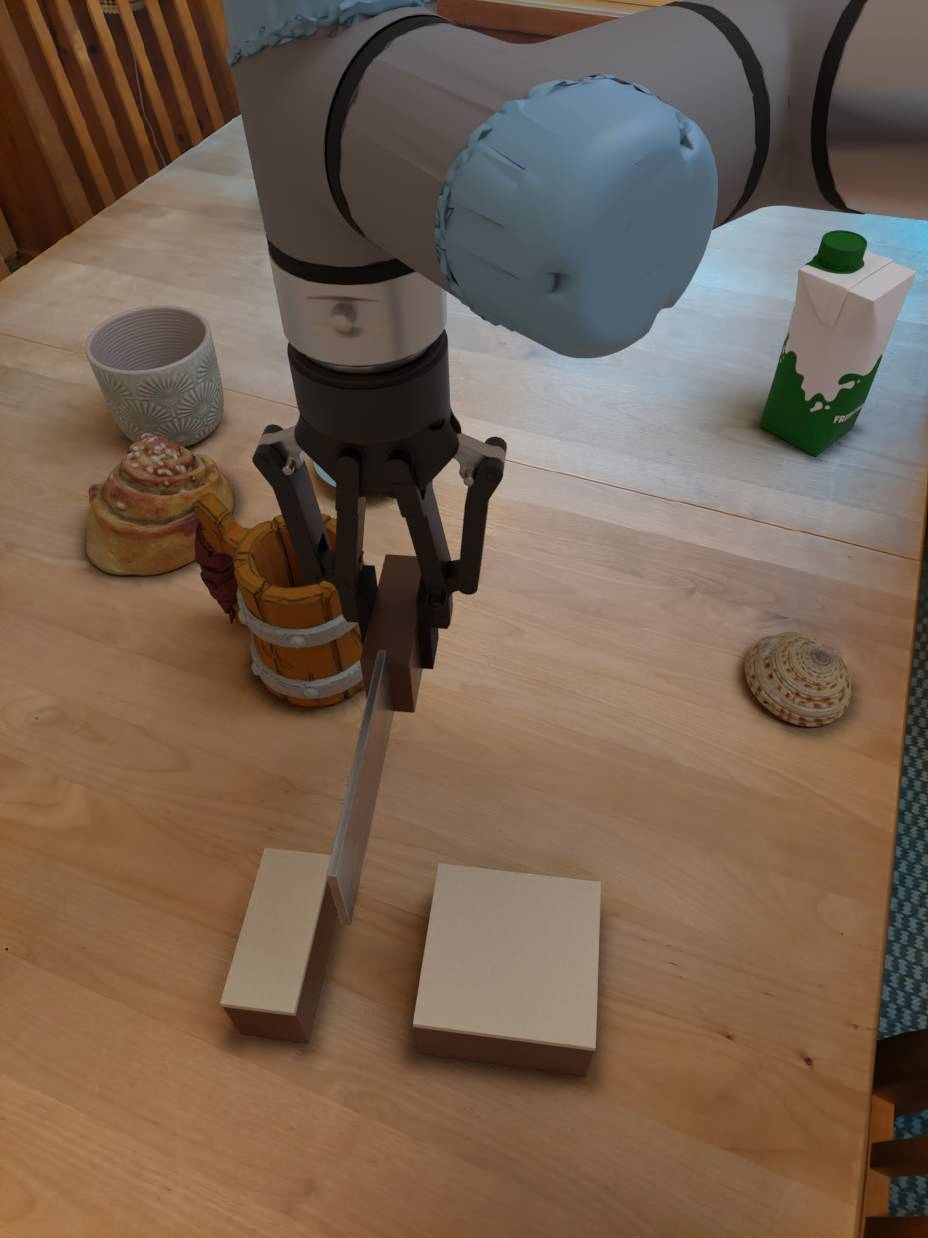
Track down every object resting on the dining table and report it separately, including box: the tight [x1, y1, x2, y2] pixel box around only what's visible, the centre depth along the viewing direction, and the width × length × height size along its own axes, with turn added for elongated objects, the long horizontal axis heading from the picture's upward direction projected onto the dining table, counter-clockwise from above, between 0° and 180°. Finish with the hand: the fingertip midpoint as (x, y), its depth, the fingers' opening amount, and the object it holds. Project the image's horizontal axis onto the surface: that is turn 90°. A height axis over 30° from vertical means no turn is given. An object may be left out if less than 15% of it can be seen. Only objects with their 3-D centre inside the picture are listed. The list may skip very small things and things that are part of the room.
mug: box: [192, 492, 368, 708], centre depth 72 cm, size 11×16×15 cm, turn 61°
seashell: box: [744, 631, 853, 728], centre depth 74 cm, size 8×6×8 cm
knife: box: [327, 553, 423, 927], centre depth 53 cm, size 23×3×6 cm, turn 173°
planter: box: [84, 304, 225, 448], centre depth 94 cm, size 12×12×11 cm
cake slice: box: [219, 847, 339, 1044], centre depth 58 cm, size 10×4×6 cm, turn 173°
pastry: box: [86, 433, 236, 577], centre depth 85 cm, size 13×15×8 cm
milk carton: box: [758, 229, 918, 457], centre depth 89 cm, size 9×9×20 cm
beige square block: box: [412, 862, 602, 1077], centre depth 57 cm, size 10×10×6 cm
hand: (402, 650), depth 59 cm, fingers closed on knife, 3 cm apart
